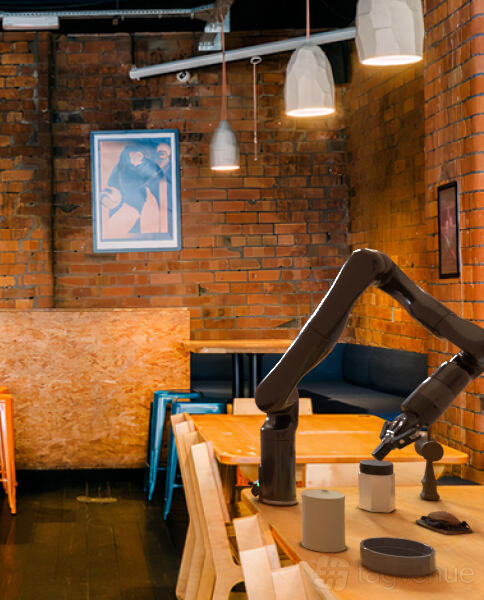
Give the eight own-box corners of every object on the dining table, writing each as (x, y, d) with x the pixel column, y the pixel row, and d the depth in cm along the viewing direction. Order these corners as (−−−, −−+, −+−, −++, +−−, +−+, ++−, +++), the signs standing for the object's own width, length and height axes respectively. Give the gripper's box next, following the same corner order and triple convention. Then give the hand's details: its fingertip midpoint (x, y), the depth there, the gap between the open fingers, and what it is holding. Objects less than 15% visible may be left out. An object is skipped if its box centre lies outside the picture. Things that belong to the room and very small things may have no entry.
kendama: (437, 495, 220) (436, 423, 220) (446, 503, 211) (445, 428, 211) (414, 494, 222) (413, 422, 222) (421, 502, 213) (420, 427, 213)
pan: (355, 570, 159) (355, 550, 159) (366, 552, 171) (365, 533, 171) (432, 582, 152) (432, 561, 152) (437, 562, 164) (437, 542, 164)
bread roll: (412, 523, 193) (412, 508, 193) (441, 520, 195) (441, 505, 195) (445, 535, 183) (445, 519, 183) (475, 532, 185) (475, 516, 185)
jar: (366, 502, 213) (365, 458, 213) (398, 507, 207) (397, 461, 208) (354, 509, 206) (354, 463, 206) (388, 514, 201) (387, 467, 201)
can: (347, 542, 177) (346, 488, 178) (344, 554, 169) (344, 498, 169) (303, 538, 181) (303, 485, 181) (299, 549, 173) (298, 494, 173)
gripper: (401, 387, 184) (350, 441, 183) (433, 394, 171) (378, 451, 170) (423, 410, 185) (372, 463, 184) (457, 418, 171) (402, 476, 171)
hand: (375, 457), depth 177 cm, fingers closed
